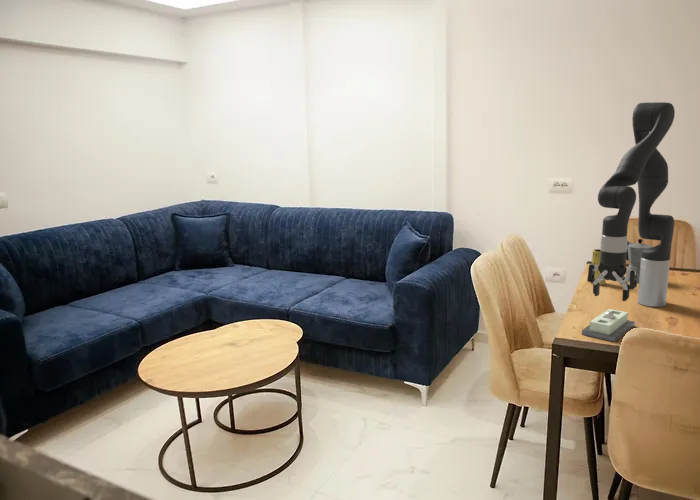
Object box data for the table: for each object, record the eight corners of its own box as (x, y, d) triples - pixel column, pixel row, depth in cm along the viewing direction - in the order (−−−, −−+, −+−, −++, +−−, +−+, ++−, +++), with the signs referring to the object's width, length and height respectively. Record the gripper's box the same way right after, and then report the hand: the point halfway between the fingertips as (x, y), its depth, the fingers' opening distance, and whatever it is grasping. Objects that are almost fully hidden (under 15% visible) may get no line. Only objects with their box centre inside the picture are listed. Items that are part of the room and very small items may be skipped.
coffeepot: (658, 283, 221) (662, 240, 217) (639, 285, 219) (642, 242, 215) (631, 274, 236) (634, 234, 232) (613, 276, 234) (615, 236, 230)
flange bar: (608, 317, 180) (609, 308, 179) (627, 321, 176) (627, 312, 175) (589, 330, 169) (590, 321, 168) (609, 334, 165) (609, 325, 164)
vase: (607, 285, 221) (609, 252, 218) (591, 285, 222) (593, 252, 219) (603, 281, 226) (605, 249, 223) (588, 281, 228) (590, 248, 225)
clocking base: (603, 319, 182) (604, 302, 181) (634, 325, 175) (635, 308, 174) (581, 334, 170) (582, 316, 169) (614, 342, 163) (615, 323, 162)
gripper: (585, 248, 169) (583, 296, 173) (633, 254, 159) (630, 305, 163) (595, 244, 174) (592, 291, 178) (642, 249, 164) (638, 299, 168)
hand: (610, 298), depth 170 cm, fingers open, 8 cm apart
